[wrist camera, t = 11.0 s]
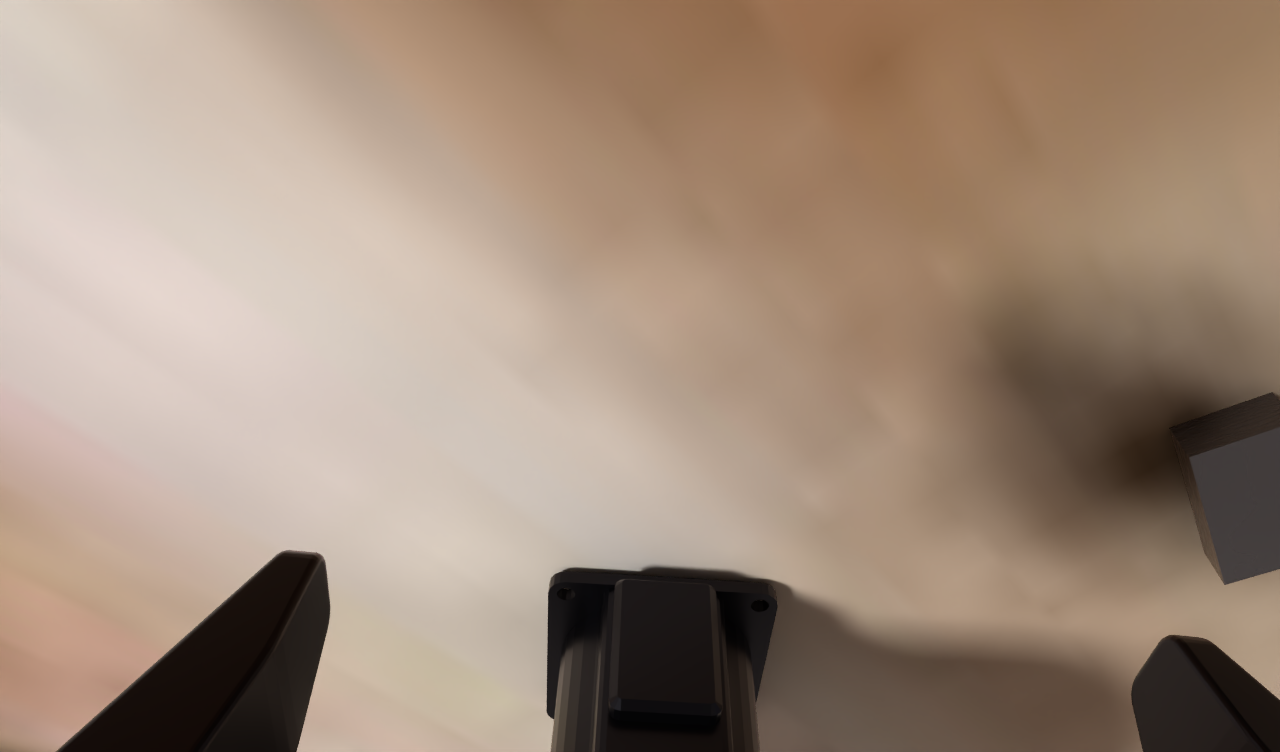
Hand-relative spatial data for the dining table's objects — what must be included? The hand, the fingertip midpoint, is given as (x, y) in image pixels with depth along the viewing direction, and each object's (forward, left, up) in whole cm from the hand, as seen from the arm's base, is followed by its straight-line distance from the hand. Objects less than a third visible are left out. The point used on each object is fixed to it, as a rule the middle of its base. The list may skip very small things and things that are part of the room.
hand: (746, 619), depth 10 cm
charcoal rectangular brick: (-8, -15, -12) cm, 21 cm away
